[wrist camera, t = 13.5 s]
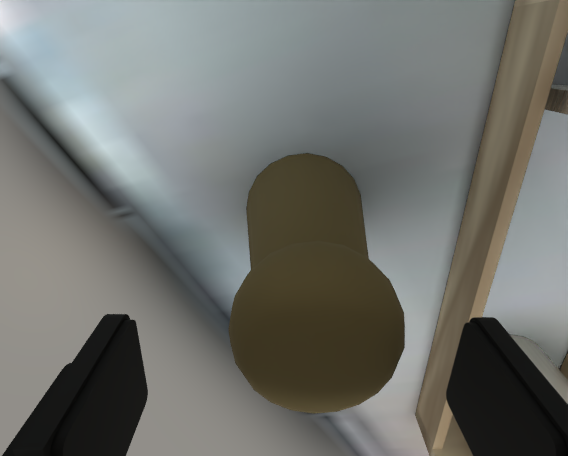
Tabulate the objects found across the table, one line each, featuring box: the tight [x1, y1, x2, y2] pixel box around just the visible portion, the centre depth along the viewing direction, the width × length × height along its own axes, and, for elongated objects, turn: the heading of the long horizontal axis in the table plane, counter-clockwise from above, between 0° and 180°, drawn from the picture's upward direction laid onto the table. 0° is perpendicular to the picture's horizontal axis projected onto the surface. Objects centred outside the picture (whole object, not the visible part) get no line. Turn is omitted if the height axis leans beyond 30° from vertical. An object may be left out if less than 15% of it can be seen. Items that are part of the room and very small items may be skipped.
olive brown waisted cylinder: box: [229, 153, 405, 413], centre depth 15 cm, size 6×6×11 cm
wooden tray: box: [415, 0, 568, 456], centre depth 19 cm, size 9×25×5 cm, turn 179°
